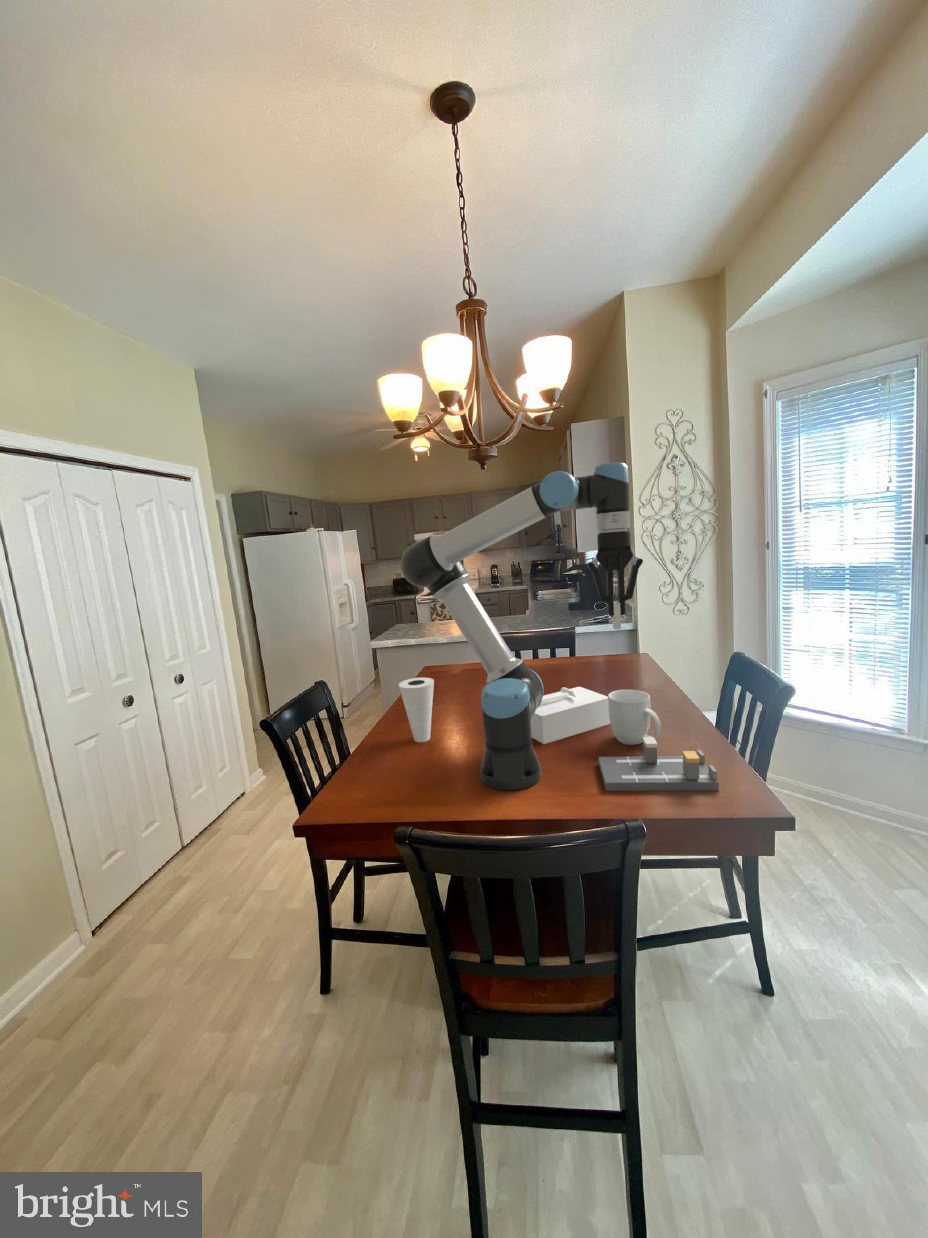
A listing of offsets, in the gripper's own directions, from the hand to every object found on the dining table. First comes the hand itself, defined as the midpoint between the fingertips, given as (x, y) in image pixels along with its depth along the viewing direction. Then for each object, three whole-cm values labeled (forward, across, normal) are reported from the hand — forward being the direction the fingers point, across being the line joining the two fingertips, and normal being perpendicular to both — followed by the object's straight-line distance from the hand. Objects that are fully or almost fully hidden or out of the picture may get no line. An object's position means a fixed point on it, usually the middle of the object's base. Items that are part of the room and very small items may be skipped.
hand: (616, 628), depth 118 cm
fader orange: (+32, +13, -13) cm, 37 cm away
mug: (+35, +5, +11) cm, 37 cm away
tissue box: (+35, -13, +23) cm, 44 cm away
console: (+34, +6, -9) cm, 36 cm away
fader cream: (+32, +6, -5) cm, 33 cm away
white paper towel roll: (+35, -56, +15) cm, 68 cm away
